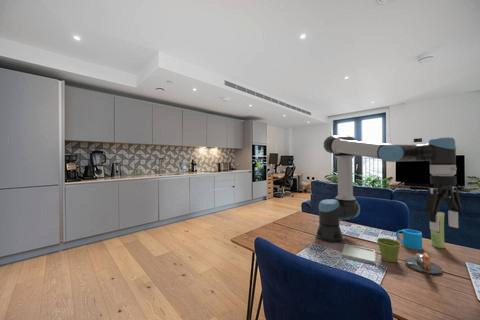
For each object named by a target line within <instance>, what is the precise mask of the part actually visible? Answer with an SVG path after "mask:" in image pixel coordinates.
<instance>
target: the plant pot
mask: <svg viewBox="0 0 480 320" xmlns="http://www.w3.org/2000/svg"><path fill="white" fill-rule="evenodd" d="M376 241H377V244H378V247H379V251H380V256H381V260H383V261H385V262H388V263H397V262H398V258H399V251H400V249H401V246H402V242H401V241H399V240H395V239H392V238H386V237H385V238H384V237H379V238H377V239H376Z"/></svg>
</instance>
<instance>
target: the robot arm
mask: <svg viewBox="0 0 480 320" xmlns="http://www.w3.org/2000/svg"><path fill="white" fill-rule="evenodd" d="M323 148H324V150H325V151H326V152H327V153H329V154H334V157H335V159H337V161H336V164H337V167H336V168H337V195H336V196H335V198H333V199H332V198H331V199H330V198H329V199H328V198H327V199H322V200H320V201H319V202H318V219H319V220H318V223H319V224H318V227H317V230H316V238H317V239H318V240H320V241H322V242H327V243H333V244H334V243H336V244H337V243H342V242H343V241H344V234H343V232H342V230H341V226H340V221H343V220H352V219H355V218H357V217H359V215H360V213H361V205H360V204H359V203H358V201H357V198H356V197H355V196H354V187H353V185H354V183H353V181H354V180H353V159H354V157H356V156H360V157H365V158H371V159H378V160H381V161H384V162H387V163H388V162H389V163H395V162H424V161H425V162H429V174H430V175H429V183H430V184H431V185H433V188H432V187H431V188H428V189H427V198H426V202H425V208H424V212H425V213H427V214H428V215H429V218H428V219H429V230H431V229H432V230H435V231H439V215H438V214H437V213H438V212H439V210H440V208H441V205H442V202H443V201H445V203H446V204H447V207H448V209H449V210H448V212H447V215H448V227H451V228H455V229H459V213H462V210H463V206H462V202H461V198H460V195H459V188H458V187H457V186H456V185H457V176H455V175H457V169H458V168H457V162H456V161H457V152H456V151H457V150H456V149H457V147H456V140H455V138H454V137H450V136H449V137H448V136H447V137H435V138H430V139H429V140H428V143H425V144H424V143H422V144H395V143H394V144H393V143H385V142H383V143H382V142H372V141H358V139H357V138H356V137H354V136H351V135H338V134H337V135H336V134H335V135H334V134H333V135H329V136H328V137H326V138H325V140H324V141H323Z"/></svg>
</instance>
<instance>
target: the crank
mask: <svg viewBox="0 0 480 320" xmlns="http://www.w3.org/2000/svg"><path fill="white" fill-rule="evenodd" d="M415 258H416V263H417V264H419V265H422V267H423V270H425V271H431V269H430V262H431V256H429V255H428V253H427V252H423V253H420V252H419V253H415Z"/></svg>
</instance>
